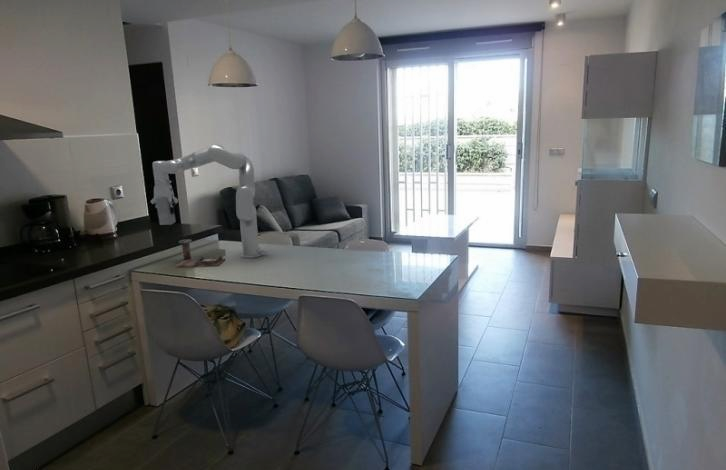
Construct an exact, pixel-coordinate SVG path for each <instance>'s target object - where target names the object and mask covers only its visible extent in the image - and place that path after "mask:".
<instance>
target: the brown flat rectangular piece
mask: <svg viewBox="0 0 726 470" xmlns="http://www.w3.org/2000/svg"><path fill="white" fill-rule="evenodd" d="M225 261H226V258H223V256H222V255H220V256H219V257H217V258H206V259H205V258H204V256H201V257H200V258H198V259H194V260H183V261H182V262H181V261H180V262H179V263H177V264H176V265H175V269H178V268H180V269H181V268H182V269H183V268H205V267H209V268H210V267H220V266H221V265H222V264H223V263H224V262H225Z"/></svg>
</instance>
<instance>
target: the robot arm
mask: <svg viewBox="0 0 726 470" xmlns="http://www.w3.org/2000/svg"><path fill="white" fill-rule="evenodd" d="M214 162H215V163H217V164H220V165H221V166H224V167H226V168H228V169H231V170H238V182H239V183H238V184H239V185H238V188H237V189H236V193H235V211H236V217H237V219H238V220H239V227H240V236H241V237H240V238H241V246H242V249H241V250H242V253H241V254H240V258H242V259H254V258H258V257H262V256H263V253H265V254H266V253H267V249H265V248H261V246H260V244H259V242H260V241H259V233H258V222H257V221H258V220H257V209H256V206H255V205H254V197H255V195H256V191H255V187H256V186H255V170H254V169H255V168H254V165H253V163H252V161H251V160H250V158H249V157H247V156H246V155H244V154H242V153H239V152H238V153H237V152H235V153H234V152H232V151H229V150H227V149H225V147H224V146H223V145H222V144H213V145H210V146H208V147H205V148H202V149H199V150H196V151H193V152H192V153H190V154H188V155H185V156H182V157H179V158H177V159H176V158H175V159H171V160H156V161H153V162H152V171H153V172H152V173H153V177H154V178H153V179H154V186H153V198H152V199H151V200H150V201H149V202H150V203H151V204H152V205H153V206H154V207H155V209H156V213H157V214H158V210H157V204H156V198H159V197H167V199H168V203H169V205H170V206H171V207H170V212H171V214H175V206H176V205H177V203H178V202H179V199H178V198H177V197H175V193H174V190H173V187H172V184H171V183H172V180H170V178H169V174H170V175H171V174H172V175H173V174H174V175H175V174H177V173H182V172H184V171H187V170H191V169H193V168H197V167H202V166H206V165H208V164H211V163H214Z"/></svg>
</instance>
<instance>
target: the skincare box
mask: <svg viewBox="0 0 726 470" xmlns="http://www.w3.org/2000/svg"><path fill="white" fill-rule="evenodd" d="M156 204H157V208H156V211H157V210H158V213H157V216H158V222H159V225H160V226H164V225H170V226H171V225H173V224H175V223H176V222H177V221H176V214H175V213H174V214H171V212H170V207H171V206H170V205H169V203H168V199H167V197H159V198H156Z"/></svg>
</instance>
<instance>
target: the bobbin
mask: <svg viewBox="0 0 726 470" xmlns="http://www.w3.org/2000/svg"><path fill="white" fill-rule="evenodd" d="M190 243H193V241H192V238H191V239H189V238H188V239H181V240H178V244H180V245H181V248H182V255H183V256H182V257H183V258H182V259H180V262H182V261H183V260H195V258H194V257H192V254H191V248H190Z"/></svg>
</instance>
